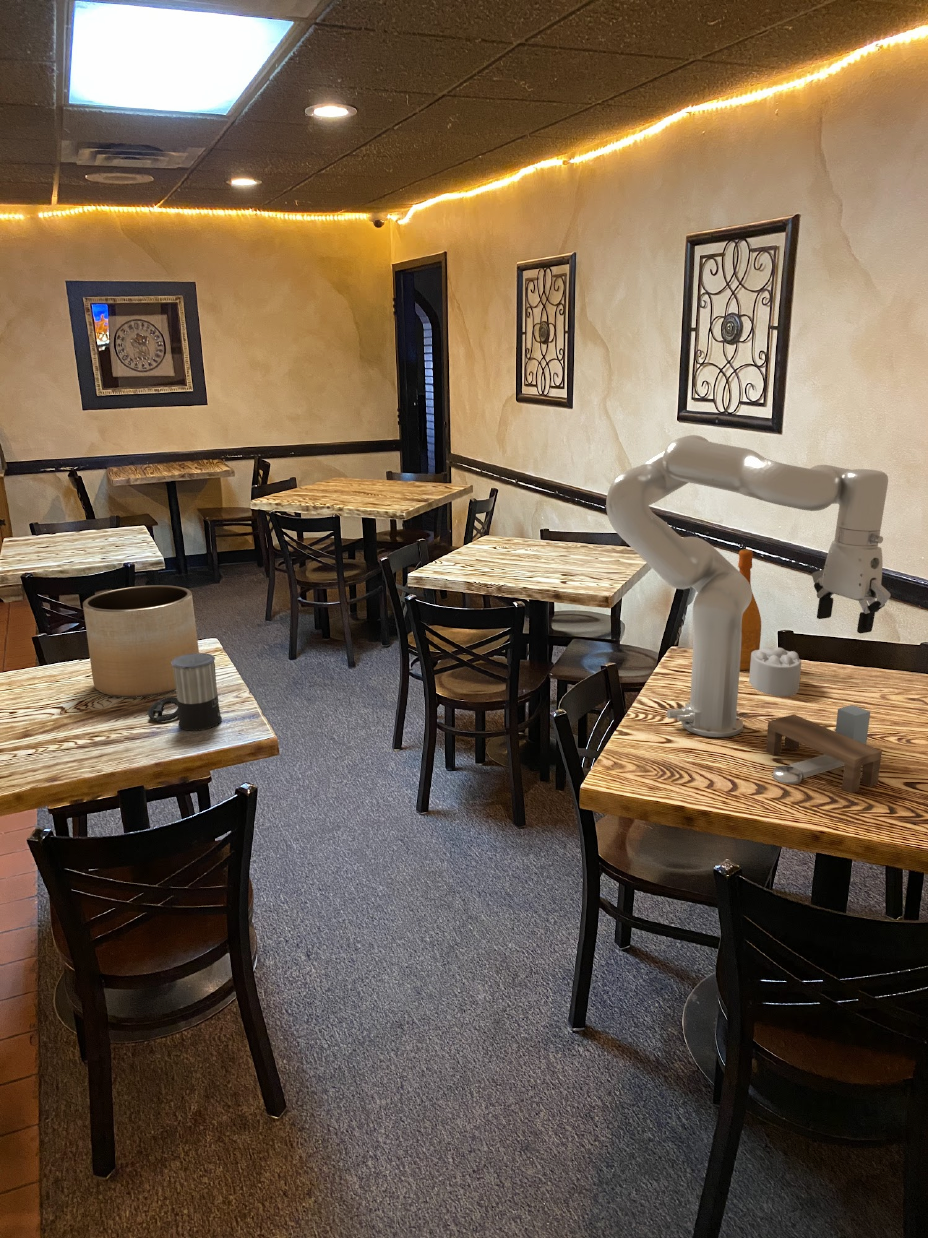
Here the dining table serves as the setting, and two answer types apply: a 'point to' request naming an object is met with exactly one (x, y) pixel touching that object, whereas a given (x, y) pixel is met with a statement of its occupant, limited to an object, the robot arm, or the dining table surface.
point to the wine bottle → (749, 616)
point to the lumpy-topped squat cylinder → (775, 671)
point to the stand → (827, 748)
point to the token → (787, 774)
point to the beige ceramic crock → (139, 638)
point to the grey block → (848, 724)
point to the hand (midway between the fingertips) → (843, 625)
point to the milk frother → (192, 693)
